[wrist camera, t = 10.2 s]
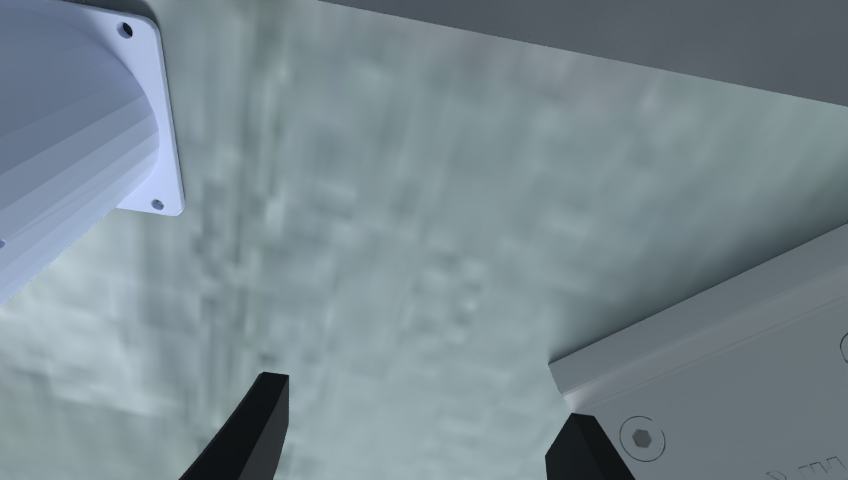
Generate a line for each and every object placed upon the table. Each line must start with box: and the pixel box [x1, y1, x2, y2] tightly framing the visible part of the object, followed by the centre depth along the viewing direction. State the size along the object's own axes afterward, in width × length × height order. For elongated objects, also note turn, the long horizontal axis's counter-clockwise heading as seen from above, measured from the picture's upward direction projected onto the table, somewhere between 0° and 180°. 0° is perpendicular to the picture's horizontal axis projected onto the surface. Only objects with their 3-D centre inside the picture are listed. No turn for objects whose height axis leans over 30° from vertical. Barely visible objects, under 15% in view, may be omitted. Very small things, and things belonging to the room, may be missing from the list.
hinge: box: [548, 223, 848, 480], centre depth 22 cm, size 17×5×10 cm, turn 129°
